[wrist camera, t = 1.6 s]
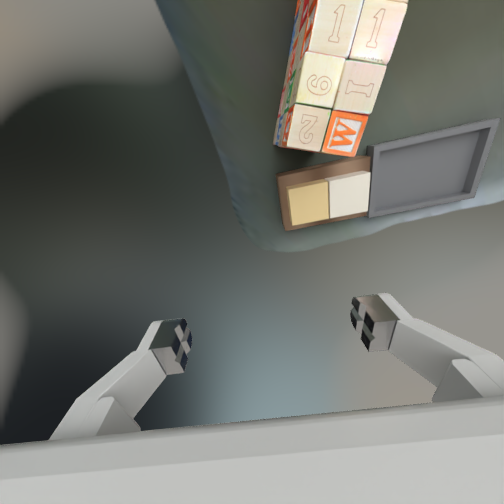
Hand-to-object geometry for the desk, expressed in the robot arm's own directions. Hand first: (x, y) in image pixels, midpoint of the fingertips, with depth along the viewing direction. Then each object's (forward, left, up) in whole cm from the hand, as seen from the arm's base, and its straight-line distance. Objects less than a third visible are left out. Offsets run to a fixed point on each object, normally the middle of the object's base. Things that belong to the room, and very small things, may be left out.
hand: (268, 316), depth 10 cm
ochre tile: (-7, +1, -21) cm, 22 cm away
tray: (-24, +1, -24) cm, 34 cm away
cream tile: (-12, +1, -21) cm, 24 cm away
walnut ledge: (-9, +1, -24) cm, 26 cm away
